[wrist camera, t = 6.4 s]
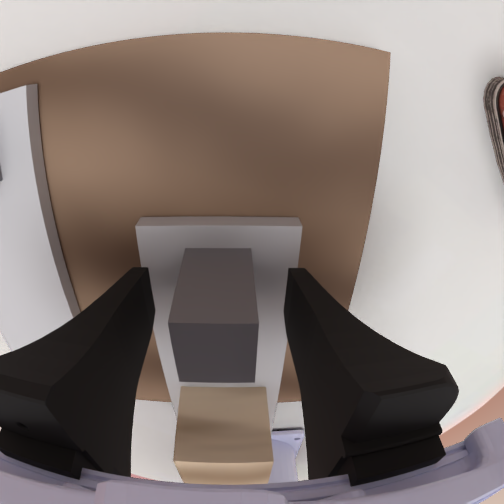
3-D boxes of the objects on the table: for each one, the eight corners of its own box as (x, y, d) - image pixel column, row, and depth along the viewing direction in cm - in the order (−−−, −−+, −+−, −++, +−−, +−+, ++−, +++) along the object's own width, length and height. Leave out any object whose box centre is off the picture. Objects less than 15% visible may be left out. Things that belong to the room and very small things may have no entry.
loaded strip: (270, 424, 20) (276, 486, 15) (181, 424, 19) (177, 485, 15) (298, 217, 12) (331, 294, 8) (140, 217, 12) (97, 293, 8)
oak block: (261, 426, 18) (266, 488, 14) (190, 425, 18) (186, 488, 14) (266, 386, 16) (273, 461, 12) (181, 386, 16) (173, 460, 12)
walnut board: (317, 387, 19) (320, 399, 18) (36, 372, 18) (31, 382, 17) (379, 53, 10) (390, 52, 9) (-50, 97, 9) (-62, 100, 8)
